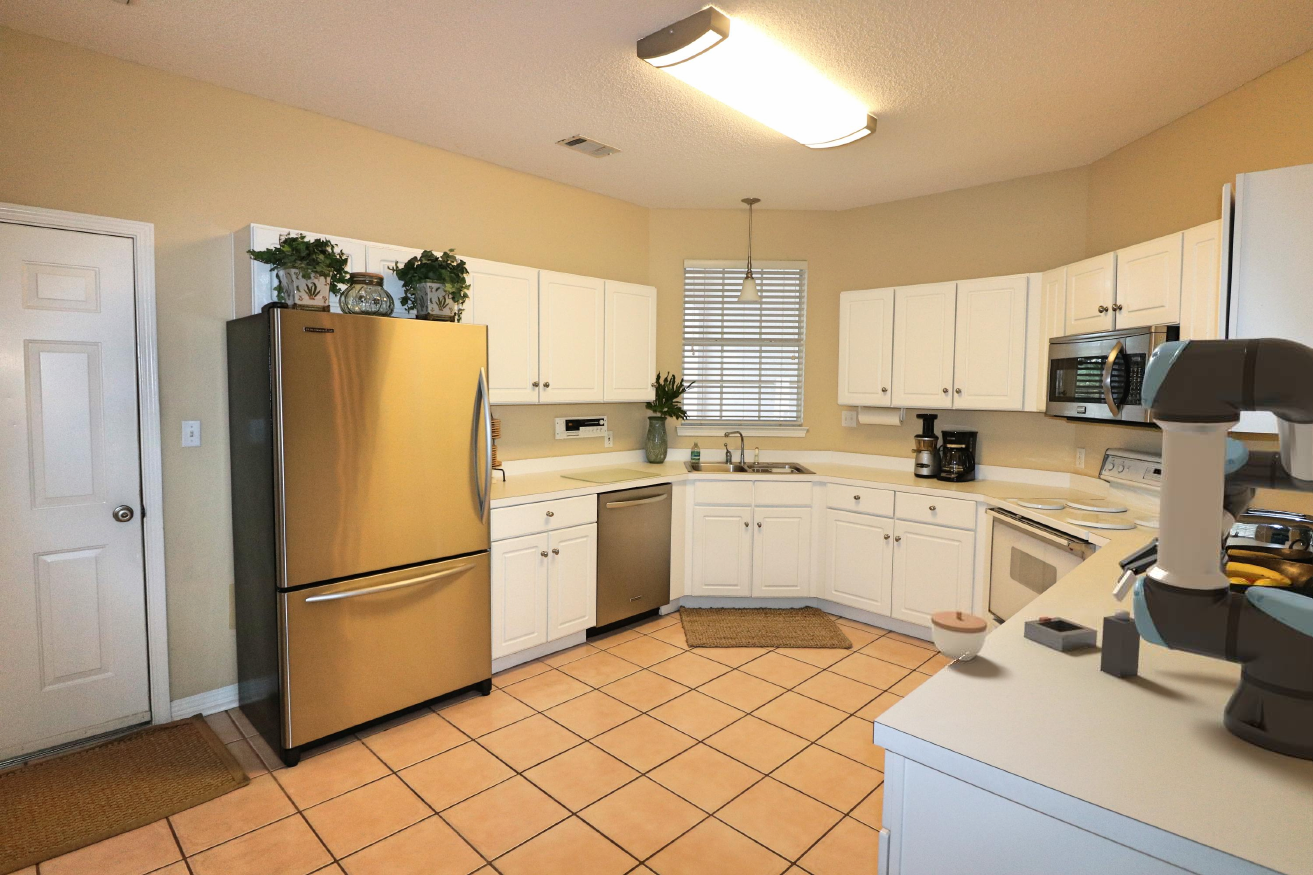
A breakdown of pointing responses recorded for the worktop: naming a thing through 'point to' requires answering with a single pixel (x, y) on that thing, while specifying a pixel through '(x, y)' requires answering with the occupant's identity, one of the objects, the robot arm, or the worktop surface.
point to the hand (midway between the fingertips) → (1149, 607)
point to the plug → (1120, 645)
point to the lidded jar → (958, 634)
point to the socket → (1060, 633)
